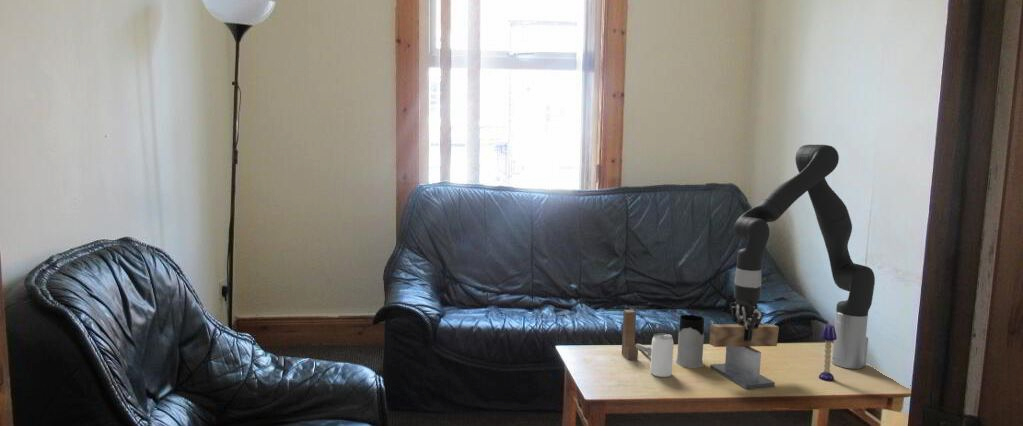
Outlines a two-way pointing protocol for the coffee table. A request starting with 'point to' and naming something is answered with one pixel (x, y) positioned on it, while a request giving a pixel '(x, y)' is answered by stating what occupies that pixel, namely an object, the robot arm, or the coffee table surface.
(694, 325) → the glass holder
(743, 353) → the ridge stand
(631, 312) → the wooden block
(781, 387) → the coffee table surface
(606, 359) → the coffee table surface
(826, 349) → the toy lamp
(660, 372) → the can
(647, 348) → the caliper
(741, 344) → the brown wooden plank
